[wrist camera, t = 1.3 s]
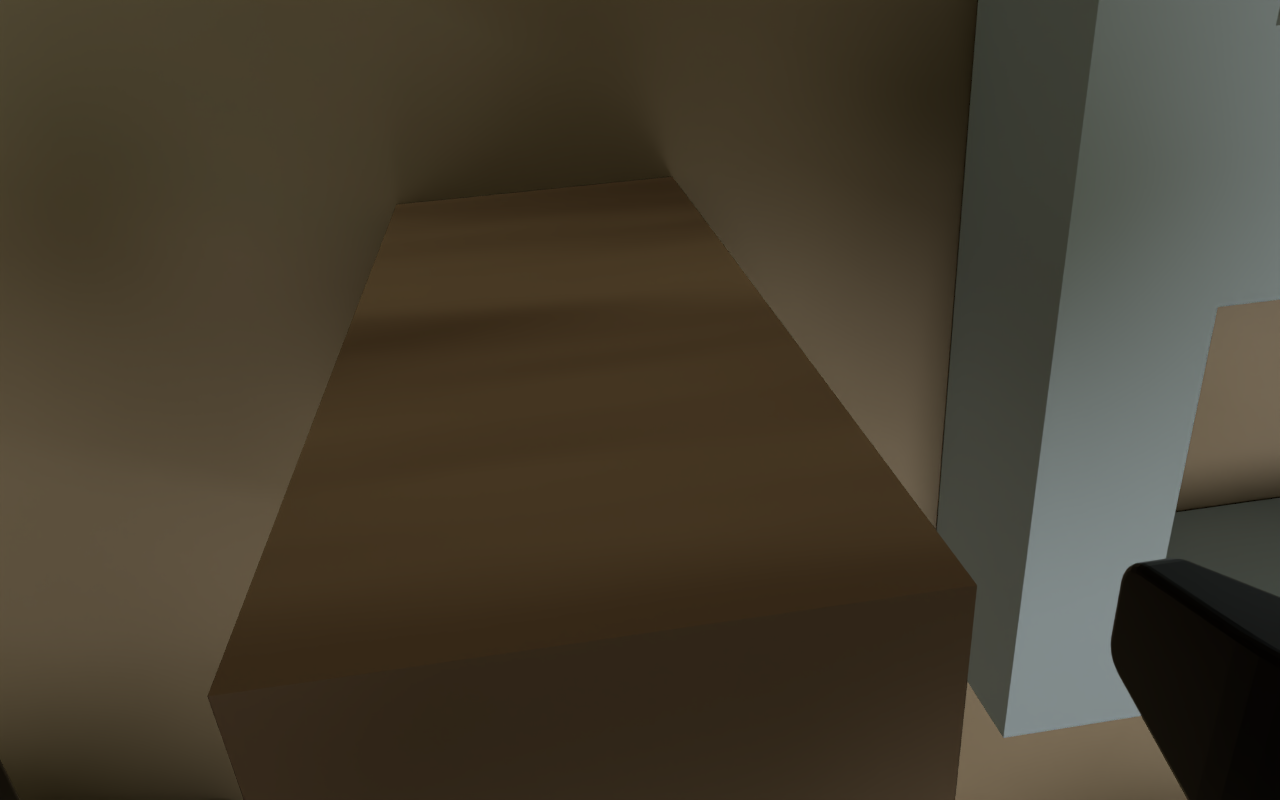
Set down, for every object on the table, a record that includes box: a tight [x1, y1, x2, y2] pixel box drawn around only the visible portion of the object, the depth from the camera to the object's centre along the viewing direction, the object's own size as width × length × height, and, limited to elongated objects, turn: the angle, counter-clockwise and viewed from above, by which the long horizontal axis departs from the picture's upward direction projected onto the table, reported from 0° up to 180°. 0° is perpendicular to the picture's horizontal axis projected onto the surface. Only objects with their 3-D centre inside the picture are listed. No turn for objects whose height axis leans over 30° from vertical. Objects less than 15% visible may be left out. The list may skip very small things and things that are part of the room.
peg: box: [208, 177, 977, 800], centre depth 10 cm, size 4×4×10 cm
